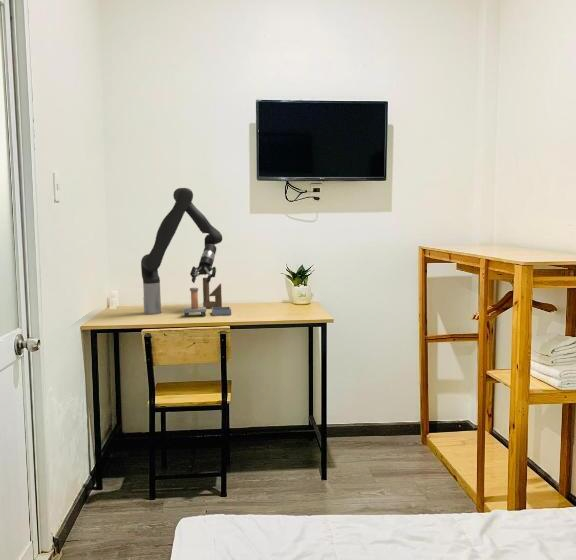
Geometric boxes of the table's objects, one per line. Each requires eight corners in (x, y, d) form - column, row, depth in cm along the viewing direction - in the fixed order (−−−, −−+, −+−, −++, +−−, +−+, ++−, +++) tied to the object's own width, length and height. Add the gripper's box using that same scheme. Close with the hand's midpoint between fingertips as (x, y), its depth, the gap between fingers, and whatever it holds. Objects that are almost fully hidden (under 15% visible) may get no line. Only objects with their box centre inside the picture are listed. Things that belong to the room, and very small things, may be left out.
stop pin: (190, 309, 319) (189, 288, 317) (190, 307, 323) (189, 287, 322) (199, 309, 319) (198, 288, 318) (198, 307, 324) (198, 287, 323)
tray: (212, 315, 320) (212, 310, 320) (211, 312, 330) (211, 307, 330) (231, 315, 322) (231, 309, 322) (229, 311, 332) (229, 306, 332)
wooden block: (221, 307, 346) (221, 277, 344) (203, 308, 344) (202, 278, 342) (221, 306, 350) (220, 276, 348) (203, 307, 348) (202, 277, 346)
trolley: (183, 317, 317) (183, 310, 316) (184, 314, 325) (183, 307, 324) (206, 316, 319) (206, 309, 318) (205, 313, 327) (205, 306, 326)
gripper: (193, 255, 337) (186, 277, 327) (217, 255, 334) (210, 278, 324) (197, 264, 343) (190, 286, 333) (220, 264, 340) (214, 286, 330)
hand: (200, 282), depth 329 cm, fingers open, 8 cm apart
